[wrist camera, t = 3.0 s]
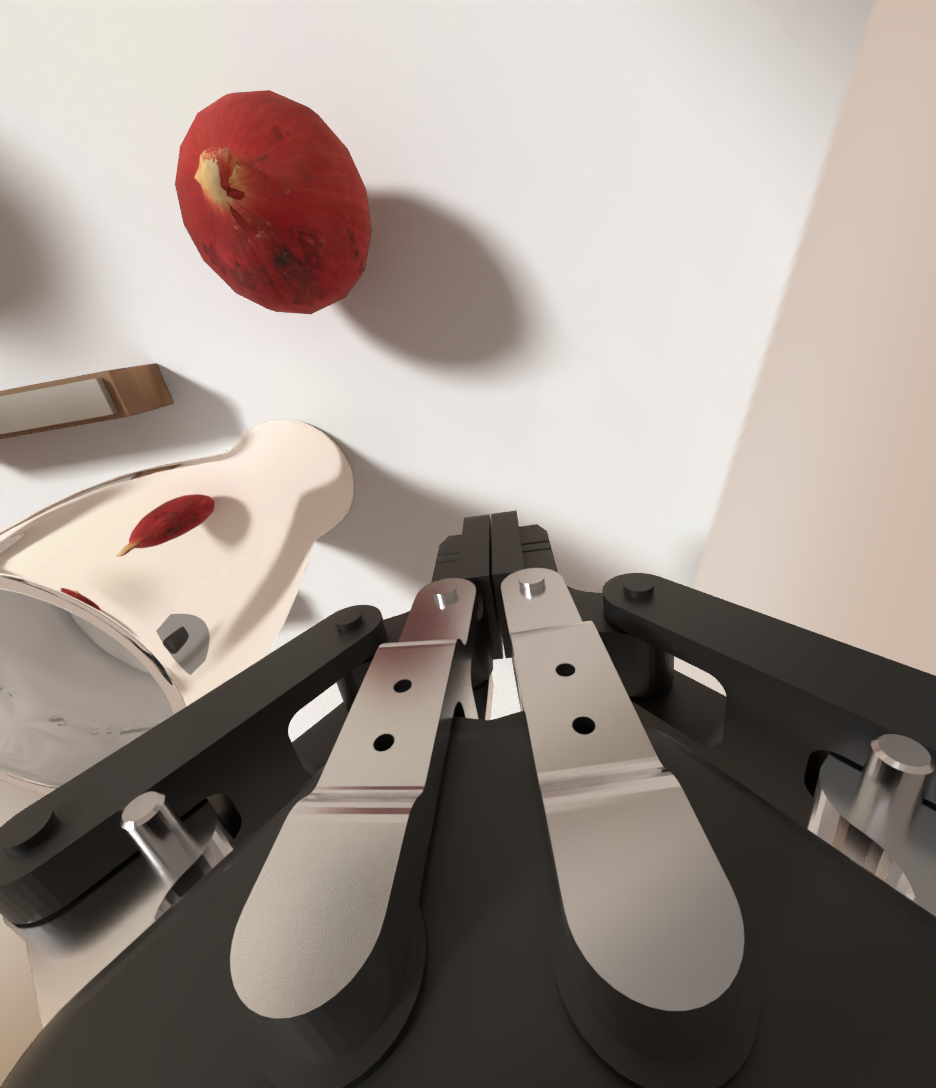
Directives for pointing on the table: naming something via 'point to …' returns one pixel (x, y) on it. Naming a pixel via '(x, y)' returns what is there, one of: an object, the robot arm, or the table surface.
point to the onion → (273, 202)
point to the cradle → (82, 400)
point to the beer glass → (153, 593)
